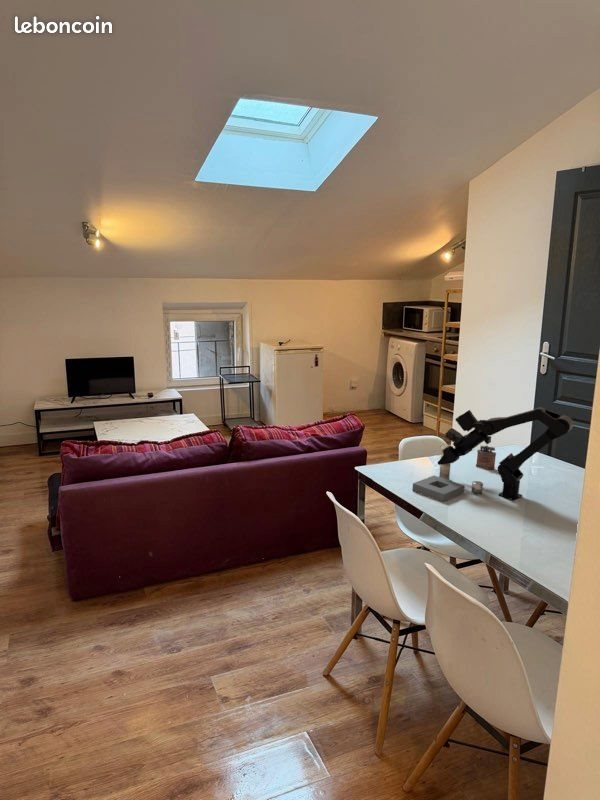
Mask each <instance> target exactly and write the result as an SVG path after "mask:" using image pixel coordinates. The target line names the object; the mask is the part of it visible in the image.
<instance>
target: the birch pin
mask: <svg viewBox="0 0 600 800" xmlns="http://www.w3.org/2000/svg"><path fill="white" fill-rule="evenodd" d="M448 446H449V445H442V446H441V449H440V450H441V451H440V452H441V453H440V459H441V458H442V456H443V455H444V453H443V450H444V449H445V448H447V447H448ZM451 464H452V463H448V464H441V465H439V476H438V477H441V478H444V479H447V480H450V475H451Z"/></svg>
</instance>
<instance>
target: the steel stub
mask: <svg viewBox="0 0 600 800" xmlns="http://www.w3.org/2000/svg"><path fill="white" fill-rule="evenodd" d="M483 487H484V483H483V482H482V481H478V480H474V481H473V480H472V482H471V494H473V495H477V496H478V495H479V496H480V495H482V494H483V490H484V489H483Z"/></svg>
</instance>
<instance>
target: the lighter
mask: <svg viewBox="0 0 600 800" xmlns="http://www.w3.org/2000/svg"><path fill="white" fill-rule="evenodd" d="M495 451H496V447H493V446H489V445H488V444H486V445H480V449H477V450H476V452H477V454H476V455H477V456H476V463H475V467H476V468H478V467H479V468H480V469H482V468H484V469H483V470H488V471H494V470H495V469H496V467H495V465H496V456H497V452H495ZM479 468H478V469H479Z"/></svg>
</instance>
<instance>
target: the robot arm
mask: <svg viewBox="0 0 600 800" xmlns="http://www.w3.org/2000/svg"><path fill="white" fill-rule="evenodd" d="M454 419H455V422H457V424H458V426H459V427H460V428H461V429H462V430H463V432H468V433H467V434H465V435H463V434H462V433H460V432H459V431H457V430H456V429H454V428H449V429H447V431H446V432H445V435H444V438H446V439H447V440H449V441H451V442H453V443H452V445H453V446H451V445H447V446H448V447H447V448H445V449H444V450H443V453H444V455H443V456H442V458H441V457H440V459H439V460H438V461H437V465H438V466H440V465H441V464H448V463H451V464H454V463H455V462H457V461H458V460H459V459H460V457H462V456H463V457H464V456H466V455H468V454H469V453H470V452H472V451H473V450H474V449H475V448H476V447H478V446H479V445H481V443H483V442H484V443H485V444H486V445H489V444H490V443H492V435H495V434H497V433H500V432H501V431H503V430H505V429H508V428H511V427H514V426H518V425H522V424H526V423H530V422H533V421H539V422H541V423H542V424H543V425H544V426H545V427H548V428H547V429H545V431H544V433H542V434H541V435H540V436H538V437H537V438H536V439H535V440H534V441H532V442H531V443H530V444H529V445H528V446H526V447H525V448H524V449H522V450H521V451H520V452H519V453H517V454H515V455H514V454H513V453H512V452H511V453H510V454H508V455H507V456H506V457H505V458H503V459H502V460H501V461H499V462H498V464H499V465H498V466H497V473H498V475H499V476H500V479H501V482H502V483H503V485H502V491H501V492H500V493H498V496H499V497H503V498H506V499H510V500H513V501H515V500H517V499H519V498H522V497H523V495H522V494H521V493H520V484H521V480H522V478H523V477H524V473H523V472H522V471H521V469H520V468H521V466H523V464H524V463H525V462H527V460H529V459H530V458H531V457H532V456H534V455H535V454H537V453H538V452H539V451H540V450H541V449H542V448H544V447H545V446H547V445H548V444H549V443H550V442H552V441H554V440H556V439H559V438H560V437H563V436H564V435H566V434H567V433H569V431H570V430H572V429H573V427H574V421H573V419H572V418H571V417H570V416H568V415H562V414H559V413H557V412H555V411H552V410H549V409H546V408H544V407H542V406H541V407H540V406H539V407H537V408H535V409H530V410H528V411H523V412H520V413H516V414H513V415H509V416H505V417H504V416H502V417H501V416H498V417H491V418H489V419H480V420H478V419H477V418H476V416H474V414H473V412H472V410H471V409H469V410H467V411H465V412H464V413H462V414H460V415H459V416H458V417H456V418H454ZM472 429H473V430H472Z"/></svg>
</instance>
